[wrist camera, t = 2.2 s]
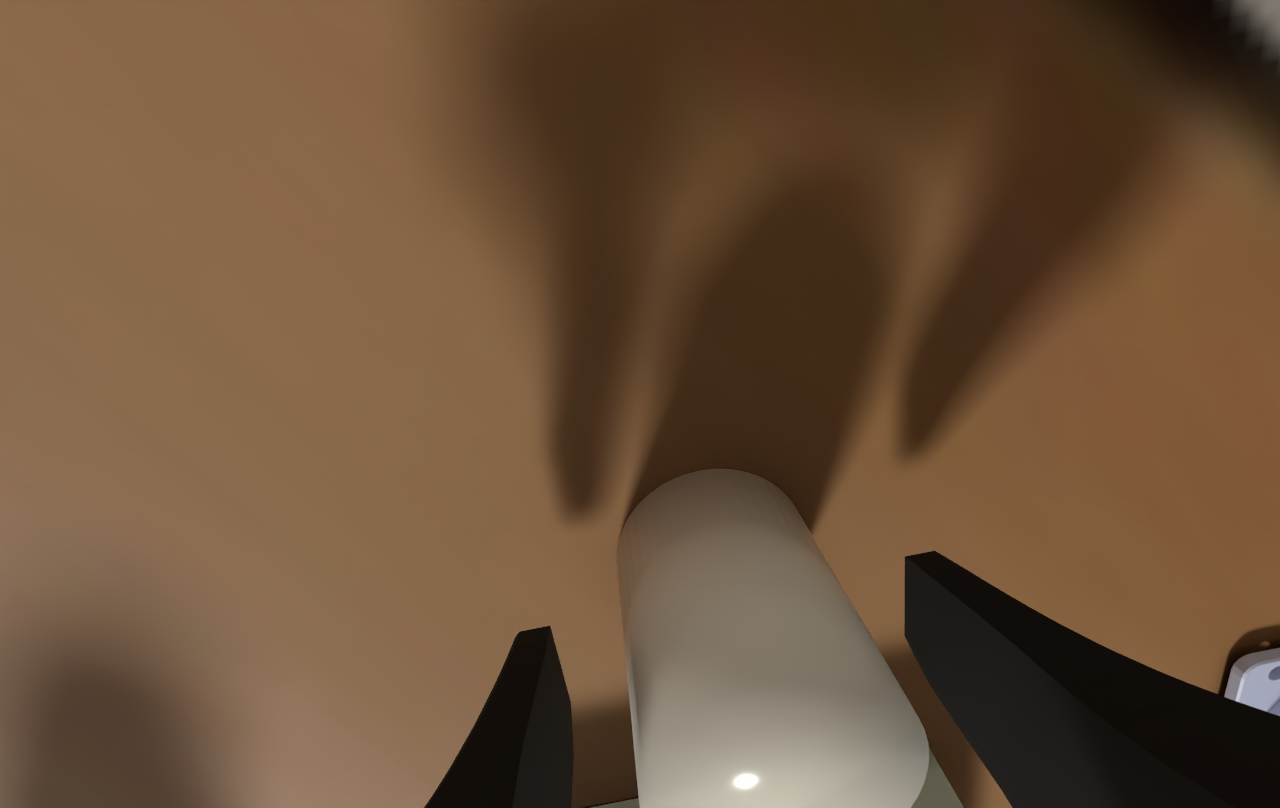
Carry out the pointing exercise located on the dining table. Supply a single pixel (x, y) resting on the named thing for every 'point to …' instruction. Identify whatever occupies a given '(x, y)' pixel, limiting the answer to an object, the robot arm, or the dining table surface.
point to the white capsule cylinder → (753, 660)
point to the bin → (933, 804)
